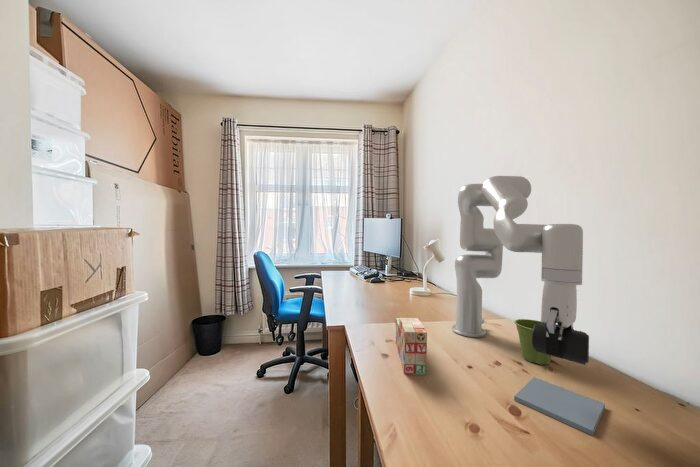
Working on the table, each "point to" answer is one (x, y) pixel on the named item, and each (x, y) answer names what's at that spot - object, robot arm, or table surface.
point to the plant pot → (530, 342)
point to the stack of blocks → (411, 345)
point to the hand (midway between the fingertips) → (559, 350)
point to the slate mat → (562, 404)
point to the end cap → (573, 343)
